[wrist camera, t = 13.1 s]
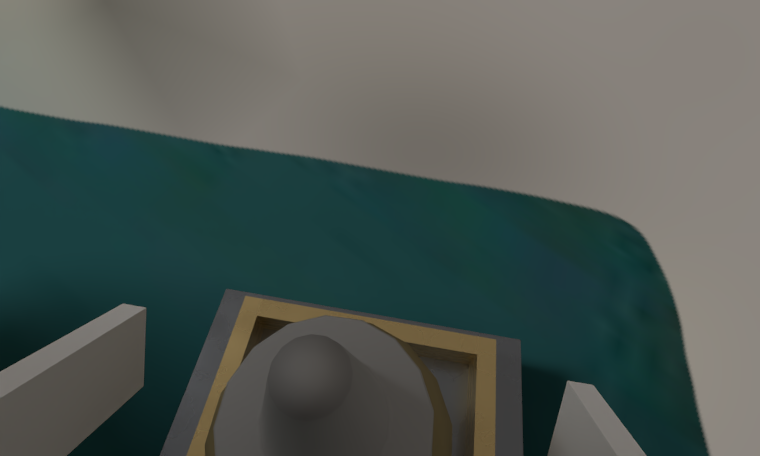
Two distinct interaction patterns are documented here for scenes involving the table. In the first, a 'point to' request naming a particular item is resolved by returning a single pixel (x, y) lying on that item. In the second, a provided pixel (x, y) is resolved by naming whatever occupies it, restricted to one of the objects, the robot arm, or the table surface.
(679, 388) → the table surface
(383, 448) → the squeeze bottle
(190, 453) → the square gold-rimmed tray
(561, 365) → the table surface
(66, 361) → the robot arm
